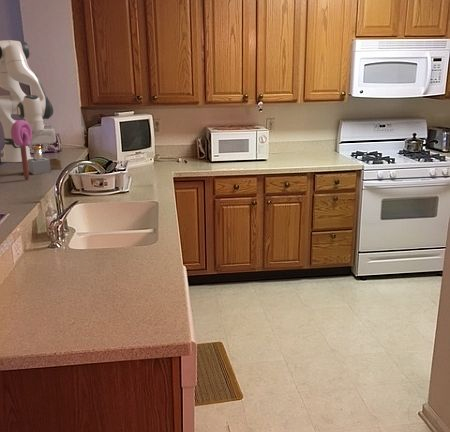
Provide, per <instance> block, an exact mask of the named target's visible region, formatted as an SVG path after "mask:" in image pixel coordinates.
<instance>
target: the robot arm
mask: <svg viewBox="0 0 450 432" xmlns="http://www.w3.org/2000/svg"><path fill="white" fill-rule="evenodd" d="M30 55H31V51H30V46H29V44H28V43H27V42H26V41H23V40H11V39H6V40H5V39H4V40H0V88H1V89H3V90H5V91H9V93H10V94H9V95H0V123H1V125H2V130H3V135H4V138H3V141H4V142H3V143H4V147H3V148H2V149H1V150H0V154H1V155H2V156H1V157H0V162H1V163H22V157H21V149H20V145H19V146H17V145H15V143H14V141H13V139H12V137H11V128H12V125H13V124H14V123H15V122H16V121H18V120H16V119H13V118H12V115H17V116H18V117H19V118H21V120H25V121H27V122H28V123H29V124H30V126H31V129H32V138H31V140H30V145H29V146H26V154H27V162H28V159H34V157H33V156H31V154H34V153H35V152H34V148H32V147H33V145H34V146H37V145H41V146H42V147H41V148H42V153H45V151H46V150H45V149H46V147H47V144H54V143H55V144H56V142H57V137H56V128H55V126H52V125H44V120H49V119H51V118H52V116H53V114H54V108H53V104H52V102H51V101H50V98H48V96H47V93H46V90H45V88H44V86H43V85H42V81H41V80H40V78H39V76H38V75H37V74H36V73H35V72H33V71H32V69H31V68H30V66H29V65H28V62H27V61H28V59H29V58H30ZM20 83H21V84H24V85H28V86H29V87H31V88H32V89H33V91H34V92H35V94H36V95H35V94H28V95H27V94H26V93H25V92H24V91H23V90H22V87H21V86H20Z"/></svg>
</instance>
